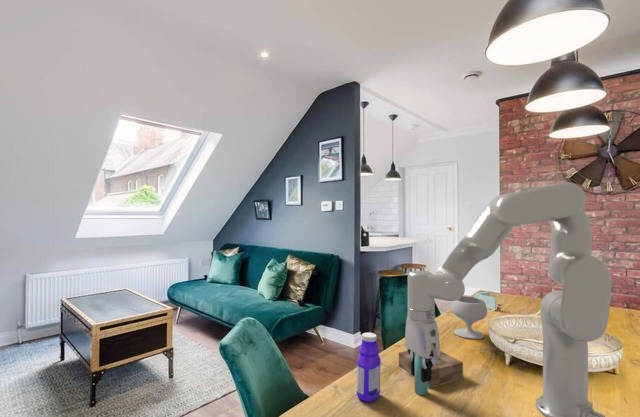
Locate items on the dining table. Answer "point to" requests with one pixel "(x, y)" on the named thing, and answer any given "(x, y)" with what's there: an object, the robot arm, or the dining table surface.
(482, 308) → the chalice
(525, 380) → the dining table surface
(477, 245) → the robot arm
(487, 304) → the l-shaped corner panel
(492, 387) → the dining table surface
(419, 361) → the peg
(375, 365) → the bottle
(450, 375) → the socket block
